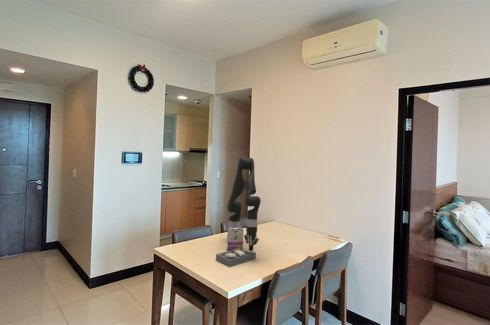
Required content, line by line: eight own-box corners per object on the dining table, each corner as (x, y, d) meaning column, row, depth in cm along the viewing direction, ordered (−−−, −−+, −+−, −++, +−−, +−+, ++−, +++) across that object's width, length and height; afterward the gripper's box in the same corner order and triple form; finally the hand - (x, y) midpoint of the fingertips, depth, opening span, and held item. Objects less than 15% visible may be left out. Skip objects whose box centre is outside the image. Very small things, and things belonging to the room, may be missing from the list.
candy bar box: (241, 248, 209) (242, 227, 209) (242, 250, 204) (243, 228, 204) (226, 248, 207) (227, 227, 207) (227, 251, 202) (228, 229, 202)
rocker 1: (225, 256, 179) (225, 254, 179) (229, 255, 182) (229, 252, 182) (231, 257, 175) (231, 255, 175) (235, 256, 178) (235, 253, 178)
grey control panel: (215, 260, 183) (216, 254, 183) (241, 252, 200) (242, 247, 200) (229, 266, 173) (229, 260, 173) (255, 258, 190) (256, 252, 190)
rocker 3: (242, 251, 190) (242, 248, 190) (247, 250, 193) (247, 247, 193) (249, 253, 186) (248, 250, 186) (253, 251, 189) (253, 249, 189)
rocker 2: (234, 252, 185) (234, 250, 185) (238, 251, 188) (239, 249, 187) (240, 256, 181) (240, 254, 180) (244, 255, 183) (244, 253, 183)
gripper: (262, 226, 185) (261, 252, 185) (248, 222, 195) (247, 247, 195) (255, 228, 180) (254, 254, 180) (241, 224, 190) (240, 249, 190)
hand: (250, 250), depth 188 cm, fingers closed
